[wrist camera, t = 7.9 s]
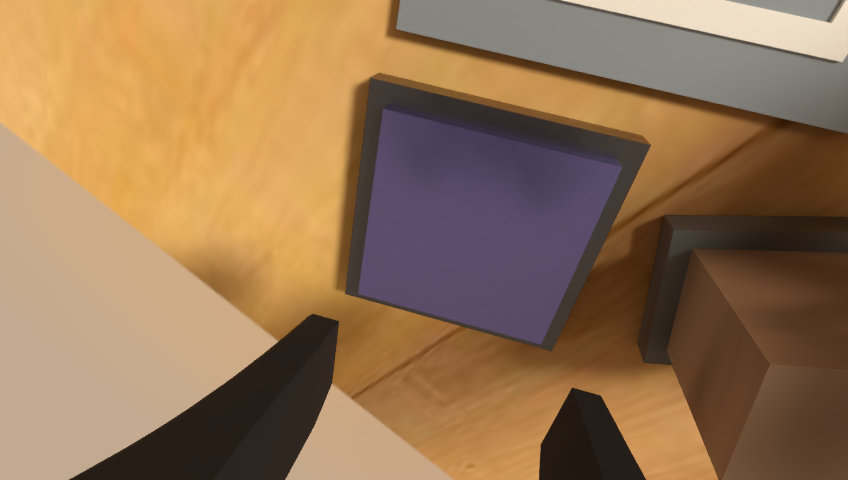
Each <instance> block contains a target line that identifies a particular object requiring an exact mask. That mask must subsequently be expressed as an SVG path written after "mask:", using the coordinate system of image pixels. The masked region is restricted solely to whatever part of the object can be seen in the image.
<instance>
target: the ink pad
mask: <svg viewBox="0 0 848 480" xmlns="http://www.w3.org/2000/svg"><path fill="white" fill-rule="evenodd" d="M650 146H651V145H650V144H649V142H648V141H647V140H646V139H645V138H644V137H643V136H641V135H637V134H632V133H628V132H624V131H620V130H616V129H612V128H607V127H603V126H599V125H595V124H591V123H586V122H582V121H578V120H574V119H570V118H566V117H561V116H557V115H553V114H549V113H545V112H540V111H536V110H532V109H528V108H524V107H520V106H515V105H511V104H507V103H503V102H499V101H494V100H490V99H486V98H482V97H478V96H474V95H469V94H465V93H461V92H457V91H453V90H448V89H444V88H440V87H436V86H432V85H428V84H423V83H419V82H415V81H411V80H407V79H402V78H398V77H394V76H390V75H386V74H382V73H378V74H376V75H374V76H373V77H371V78H370V85H369V94H368V102H367V111H366V120H365V128H364V137H363V145H362V154H361V163H360V171H359V180H358V188H357V197H356V205H355V214H354V223H353V231H352V240H351V248H350V257H349V266H348V274H347V283H346V291H345V294H348V295H351V296H355V297H358V298H362V299H366V300H369V301H373V302H376V303H380V304H384V305H387V306H391V307H394V308H398V309H402V310H405V311H409V312H412V313H416V314H420V315H423V316H427V317H430V318H434V319H438V320H441V321H445V322H448V323H452V324H456V325H459V326H463V327H466V328H470V329H474V330H477V331H481V332H484V333H488V334H492V335H495V336H499V337H502V338H506V339H510V340H513V341H517V342H521V343H524V344H528V345H531V346H535V347H539V348H542V349H546V350H549V351H552V350H553V348H554V345H555V343H556V341H557V339H558V337H559V335H560V333H561V331H562V329H563V327H564V325H565V323H566V321H567V318H568V316H569V314H570V312H571V310H572V308H573V306H574V304H575V302H576V300H577V298H578V296H579V293H580V291H581V289H582V287H583V285H584V283H585V281H586V279H587V277H588V275H589V273H590V271H591V269H592V266H593V264H594V262H595V260H596V258H597V256H598V254H599V252H600V250H601V248H602V246H603V244H604V242H605V239H606V237H607V235H608V233H609V231H610V229H611V227H612V225H613V223H614V221H615V219H616V217H617V215H618V212H619V210H620V208H621V206H622V204H623V202H624V200H625V198H626V196H627V194H628V192H629V190H630V187H631V185H632V183H633V181H634V179H635V177H636V175H637V173H638V171H639V169H640V167H641V165H642V163H643V160H644V158H645V156H646V154H647V152H648V150H649V148H650Z"/></svg>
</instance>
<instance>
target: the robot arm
mask: <svg viewBox="0 0 848 480" xmlns="http://www.w3.org/2000/svg"><path fill="white" fill-rule="evenodd" d="M338 325H339V321H336V320H332V319H329V318H325V317H322V316H318V315H315V314H312V315H310V316H308V317H307V318H306V319H305V320H303V321H302V322H301V323H300V324H299V325H298V326H297V327H295V328H294V329H293V330H292V331H291V332H290V333H288V334H287V335H286V336H285V337H284V338H282V339H281V340H280V341H279V342H278V343H276V344H275V345H274V346H273V347H271V348H270V349H269V350H268V351H266V352H265V353H264V354H263V355H262V356H260V357H259V358H258V359H256V360H255V361H254V362H253V363H251V364H250V365H248V366H247V367H246V368H245V369H243V370H242V371H241V372H239V373H238V374H237V375H236V376H234V377H233V378H232V379H230V380H229V381H227V382H226V383H225V384H224V385H222V386H220V387H219V388H218V389H216V390H215V391H213V392H212V393H210V394H209V395H207V396H206V397H205V398H203V399H202V400H200V401H199V402H197V403H196V404H194V405H193V406H192V407H190V408H189V409H187V410H186V411H184V412H183V413H181V414H180V415H178V416H177V417H175V418H173V419H172V420H170V421H169V422H167V423H166V424H164V425H163V426H161V427H159V428H158V429H156V430H155V431H153V432H151V433H150V434H148V435H147V436H145V437H143V438H141V439H140V440H138V441H137V442H135V443H133V444H132V445H130V446H128V447H127V448H125V449H123V450H121V451H120V452H118V453H116V454H114V455H113V456H111V457H109V458H107V459H105V460H104V461H102V462H100V463H98V464H96V465H95V466H93V467H91V468H89V469H88V470H86V471H84V472H82V473H80V474H79V475H77V476H75V477H73V478H71V479H69V480H285V479H286V477H287V475H288V473H289V472H290V469H291V468H292V466H293V464H294V462H295V460H296V459H297V457H298V455H299V453H300V451H301V450H302V448H303V446H304V444H305V442H306V440H307V438H308V437H309V435H310V433H311V431H312V429H313V427H314V425H315V423H316V420H317V418H318V416H319V413H320V411H321V409H322V406H323V404H324V401H325V399H326V396H327V394H328V391H329V389H330V387H331V384H332V379H333V370H334V361H335V352H336V343H337V334H338ZM539 480H646V479H645V477H644V475H643V473H642V471H641V470H640V468H639V466H638V464H637V462H636V460H635V459H634V457H633V455H632V453H631V451H630V449H629V447H628V446H627V444H626V442H625V440H624V438H623V436H622V434H621V433H620V431H619V429H618V427H617V425H616V423H615V421H614V419H613V417H612V416H611V414H610V412H609V410H608V408H607V406H606V404H605V403H604V401H603V399H602V397H601V396H600V395H596V394H593V393H589V392H586V391H582V390H579V389H575V388H572V389H571V391H570V393H569V394H568V396H567V398H566V400H565V402H564V404H563V405H562V407H561V409H560V411H559V413H558V414H557V416H556V418H555V420H554V422H553V424H552V425H551V427H550V429H549V431H548V433H547V434H546V436H545V438H544V440H543V442H542V443H541V452H540V470H539Z"/></svg>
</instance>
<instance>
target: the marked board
mask: <svg viewBox="0 0 848 480" xmlns="http://www.w3.org/2000/svg"><path fill="white" fill-rule="evenodd" d="M396 29H397V30H401V31H406V32H410V33H414V34H419V35H423V36H427V37H432V38H436V39H440V40H445V41H449V42H453V43H458V44H462V45H466V46H471V47H475V48H479V49H484V50H488V51H492V52H497V53H501V54H505V55H510V56H514V57H518V58H523V59H527V60H531V61H535V62H540V63H544V64H548V65H553V66H557V67H561V68H566V69H570V70H574V71H579V72H583V73H587V74H592V75H596V76H600V77H605V78H609V79H613V80H618V81H622V82H626V83H631V84H635V85H639V86H644V87H648V88H652V89H657V90H661V91H665V92H670V93H674V94H678V95H683V96H687V97H691V98H696V99H700V100H704V101H709V102H713V103H717V104H721V105H726V106H730V107H734V108H739V109H743V110H747V111H752V112H756V113H760V114H765V115H769V116H773V117H778V118H782V119H786V120H791V121H795V122H799V123H804V124H808V125H812V126H817V127H821V128H825V129H830V130H834V131H838V132H843V133H847V134H848V0H400V5H399V13H398V20H397V27H396Z"/></svg>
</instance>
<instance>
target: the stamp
mask: <svg viewBox="0 0 848 480" xmlns="http://www.w3.org/2000/svg"><path fill="white" fill-rule="evenodd" d="M638 346H639V349H640V352H641V355H642V358H643V361H644V363H653V364H666V365H672V366H673V368H674V371H675V373H676V376H677V378H678V381H679V383H680V385H681V388H682V390H683V393H684V395H685V398H686V400H687V403H688V405H689V408H690V410H691V413H692V415H693V417H694V420H695V422H696V425H697V427H698V430H699V432H700V435H701V437H702V440H703V442H704V445H705V447H706V449H707V452H708V454H709V457H710V459H711V462H712V464H713V467H714V469H715V472H716V474H717V476H718V479H719V480H848V217H805V216H702V215H664V219H663V223H662V228H661V233H660V238H659V243H658V247H657V252H656V257H655V262H654V267H653V272H652V276H651V281H650V286H649V291H648V296H647V301H646V305H645V310H644V315H643V320H642V325H641V329H640V334H639V339H638Z"/></svg>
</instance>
